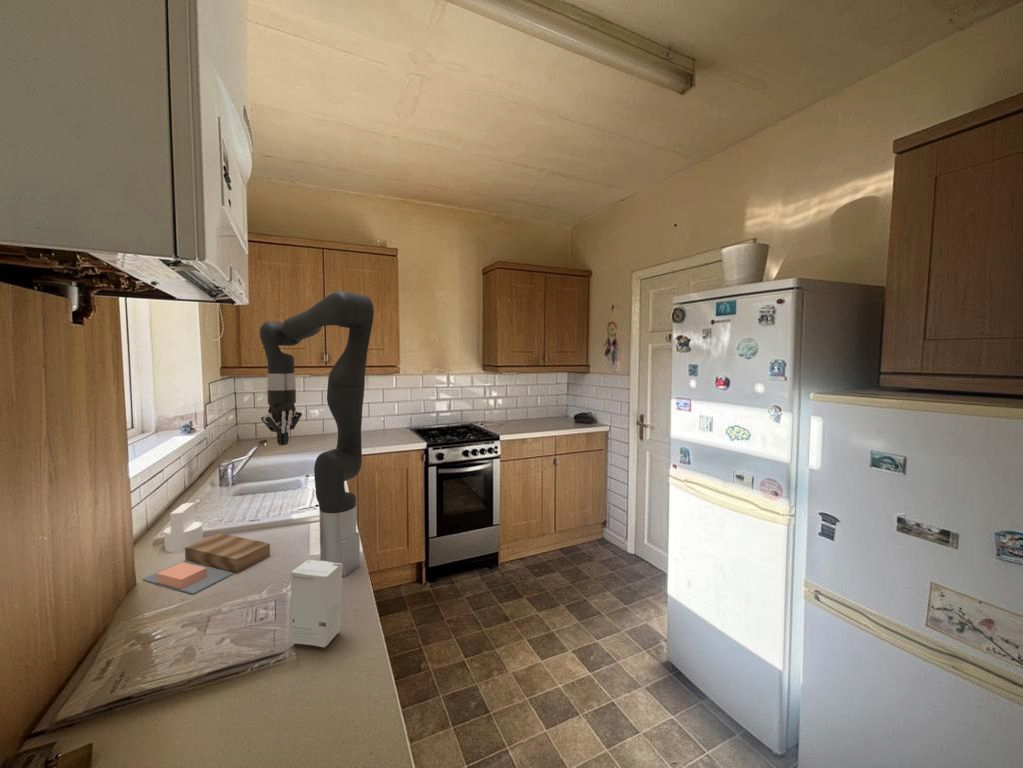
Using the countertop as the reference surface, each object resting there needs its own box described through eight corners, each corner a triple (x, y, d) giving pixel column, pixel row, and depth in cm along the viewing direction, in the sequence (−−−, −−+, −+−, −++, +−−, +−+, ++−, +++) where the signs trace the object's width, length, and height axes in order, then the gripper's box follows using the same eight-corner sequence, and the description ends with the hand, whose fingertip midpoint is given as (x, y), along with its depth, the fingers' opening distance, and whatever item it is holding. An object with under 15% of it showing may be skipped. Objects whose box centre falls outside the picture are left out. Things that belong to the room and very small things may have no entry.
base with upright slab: (173, 542, 127) (171, 504, 126) (207, 538, 129) (206, 501, 129) (158, 555, 118) (156, 515, 117) (195, 551, 121) (194, 511, 120)
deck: (270, 556, 118) (269, 543, 117) (236, 573, 108) (236, 559, 108) (220, 545, 124) (220, 533, 124) (185, 561, 115) (184, 547, 115)
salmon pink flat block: (181, 579, 100) (182, 589, 100) (206, 567, 106) (206, 576, 106) (156, 573, 103) (157, 582, 103) (182, 562, 109) (182, 570, 109)
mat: (233, 574, 108) (233, 573, 108) (193, 594, 99) (193, 593, 98) (184, 562, 114) (184, 560, 114) (142, 580, 105) (142, 578, 105)
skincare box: (288, 644, 82) (287, 572, 81) (307, 625, 88) (306, 558, 87) (327, 648, 81) (326, 575, 80) (344, 628, 87) (343, 561, 86)
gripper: (271, 390, 116) (273, 450, 117) (308, 387, 128) (309, 441, 129) (252, 389, 118) (254, 448, 119) (290, 386, 131) (291, 440, 132)
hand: (283, 444), depth 124 cm, fingers closed
